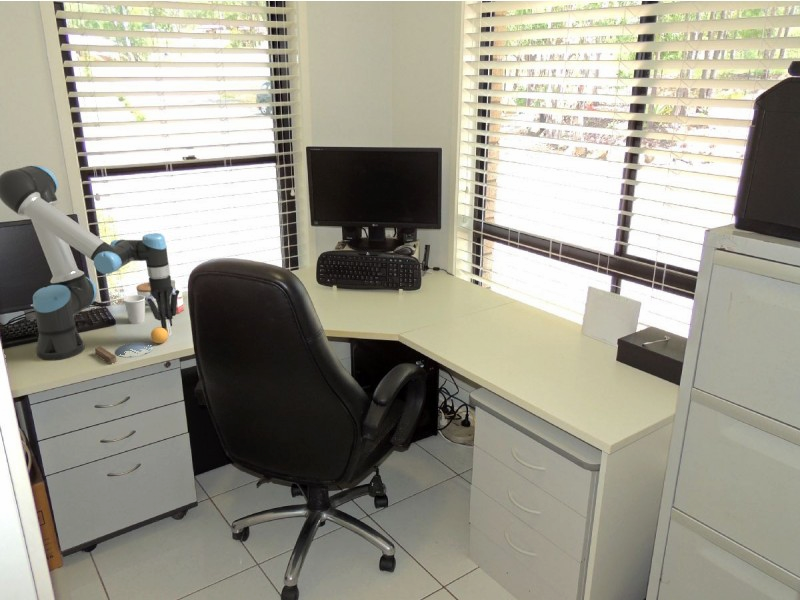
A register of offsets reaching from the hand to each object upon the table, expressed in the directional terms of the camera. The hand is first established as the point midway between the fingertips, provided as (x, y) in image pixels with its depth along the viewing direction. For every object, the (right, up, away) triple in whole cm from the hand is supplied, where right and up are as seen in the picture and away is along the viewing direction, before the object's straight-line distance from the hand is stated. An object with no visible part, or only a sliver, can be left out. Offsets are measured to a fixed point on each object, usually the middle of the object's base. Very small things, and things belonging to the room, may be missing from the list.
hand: (168, 334), depth 236 cm
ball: (-2, 0, -3) cm, 4 cm away
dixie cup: (-19, +4, +18) cm, 26 cm away
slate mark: (-9, -5, -9) cm, 13 cm away
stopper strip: (-16, -7, -16) cm, 24 cm away
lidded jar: (-22, +12, +39) cm, 46 cm away
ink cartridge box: (-9, +8, +30) cm, 32 cm away
